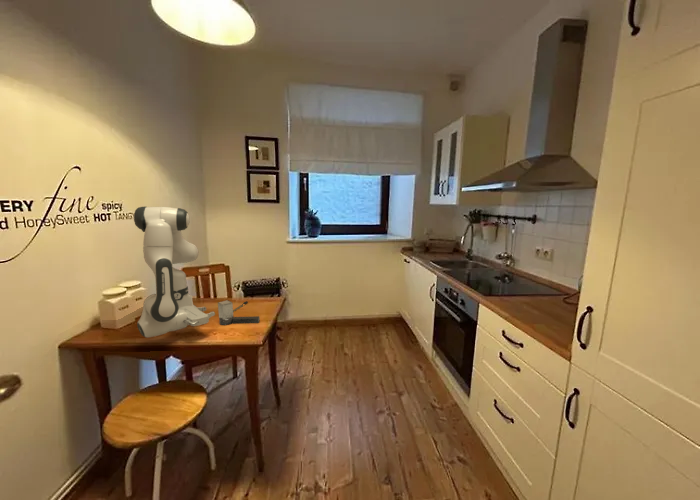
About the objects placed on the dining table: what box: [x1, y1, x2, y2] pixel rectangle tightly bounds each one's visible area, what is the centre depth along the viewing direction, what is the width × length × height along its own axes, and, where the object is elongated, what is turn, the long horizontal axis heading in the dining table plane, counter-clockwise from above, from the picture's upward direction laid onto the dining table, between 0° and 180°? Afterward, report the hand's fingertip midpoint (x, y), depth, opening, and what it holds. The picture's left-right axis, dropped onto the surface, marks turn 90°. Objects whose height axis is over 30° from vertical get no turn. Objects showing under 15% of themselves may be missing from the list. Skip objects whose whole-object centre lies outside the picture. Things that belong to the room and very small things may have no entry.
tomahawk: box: [233, 300, 248, 313], centre depth 179 cm, size 21×7×1 cm, turn 166°
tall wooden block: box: [217, 299, 234, 320], centre depth 159 cm, size 5×5×8 cm
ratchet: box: [218, 315, 260, 326], centre depth 160 cm, size 20×7×6 cm, turn 93°
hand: (209, 310), depth 153 cm, fingers open, 8 cm apart
